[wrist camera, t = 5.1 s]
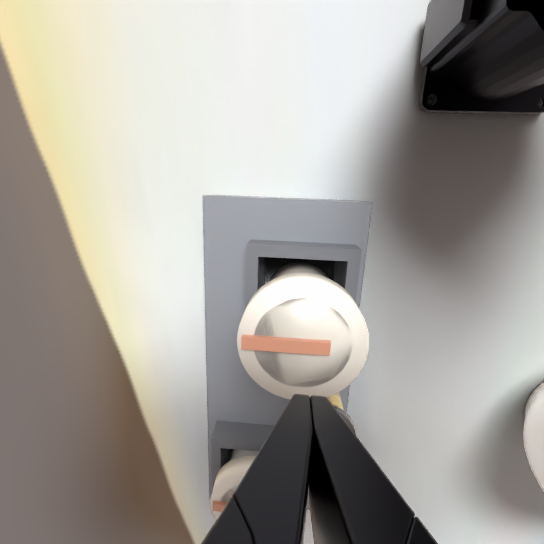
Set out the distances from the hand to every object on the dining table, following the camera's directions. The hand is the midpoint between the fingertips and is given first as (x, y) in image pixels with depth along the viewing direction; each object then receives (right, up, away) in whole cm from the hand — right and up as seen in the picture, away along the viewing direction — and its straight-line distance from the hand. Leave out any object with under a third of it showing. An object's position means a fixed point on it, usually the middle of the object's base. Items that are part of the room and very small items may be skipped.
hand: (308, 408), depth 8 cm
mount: (0, -2, +13) cm, 13 cm away
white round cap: (+1, +2, +8) cm, 9 cm away
